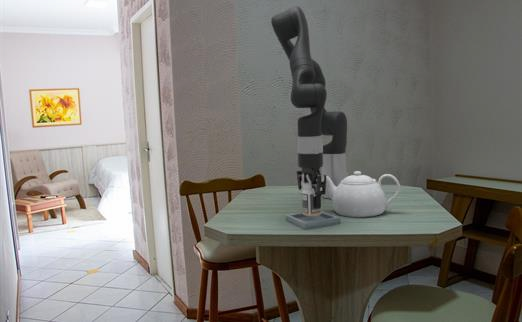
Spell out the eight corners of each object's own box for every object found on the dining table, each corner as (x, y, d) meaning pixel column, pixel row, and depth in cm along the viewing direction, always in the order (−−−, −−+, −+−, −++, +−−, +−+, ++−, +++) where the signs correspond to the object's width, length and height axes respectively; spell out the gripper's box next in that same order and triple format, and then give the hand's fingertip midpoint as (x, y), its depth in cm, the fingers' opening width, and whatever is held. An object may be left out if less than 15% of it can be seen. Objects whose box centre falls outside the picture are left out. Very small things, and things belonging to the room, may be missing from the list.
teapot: (356, 222, 127) (355, 177, 126) (320, 211, 144) (319, 171, 142) (402, 213, 136) (401, 171, 134) (363, 203, 152) (362, 166, 151)
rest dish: (318, 215, 137) (318, 210, 137) (340, 223, 126) (339, 217, 126) (285, 220, 132) (285, 215, 132) (304, 229, 121) (304, 223, 121)
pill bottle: (321, 212, 131) (321, 180, 130) (320, 216, 126) (319, 183, 125) (303, 212, 132) (302, 180, 131) (301, 216, 127) (300, 184, 126)
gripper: (288, 150, 132) (289, 203, 134) (311, 153, 119) (313, 212, 121) (309, 148, 135) (310, 200, 137) (334, 151, 122) (335, 209, 124)
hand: (311, 206), depth 129 cm, fingers closed on pill bottle, 5 cm apart
